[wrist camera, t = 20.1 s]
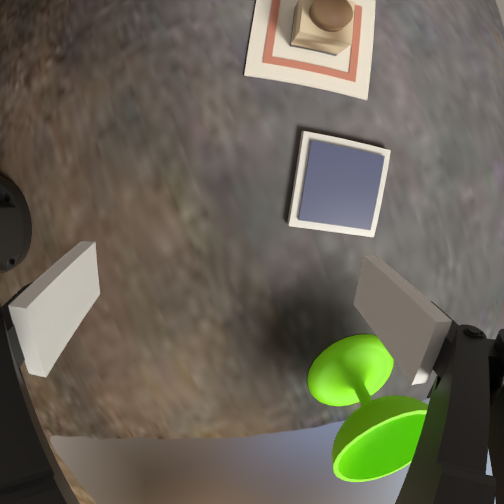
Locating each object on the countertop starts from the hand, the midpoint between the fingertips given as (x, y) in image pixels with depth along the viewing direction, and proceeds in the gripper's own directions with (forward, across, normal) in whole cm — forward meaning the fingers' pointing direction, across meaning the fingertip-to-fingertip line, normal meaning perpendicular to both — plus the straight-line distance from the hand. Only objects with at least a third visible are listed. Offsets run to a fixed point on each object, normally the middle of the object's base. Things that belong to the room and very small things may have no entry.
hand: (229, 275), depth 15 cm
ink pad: (+26, +15, +2) cm, 30 cm away
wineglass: (+26, +23, -28) cm, 45 cm away
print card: (+26, +10, +22) cm, 36 cm away
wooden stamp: (+26, +10, +22) cm, 35 cm away
